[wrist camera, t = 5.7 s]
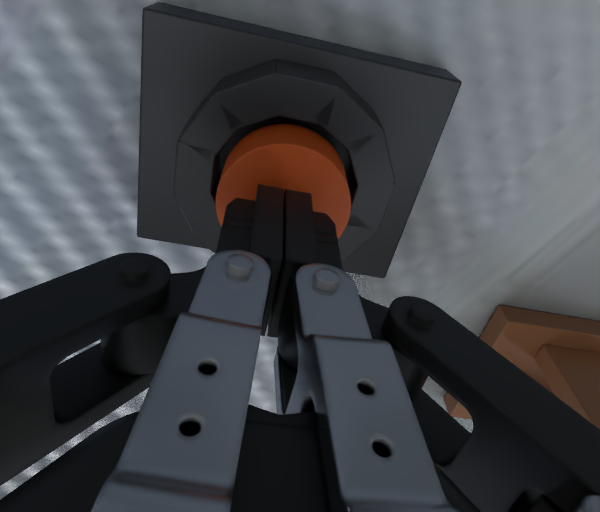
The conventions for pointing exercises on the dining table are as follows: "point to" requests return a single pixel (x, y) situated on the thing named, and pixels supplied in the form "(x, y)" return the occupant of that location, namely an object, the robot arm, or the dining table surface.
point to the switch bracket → (548, 356)
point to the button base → (280, 110)
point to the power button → (287, 170)
